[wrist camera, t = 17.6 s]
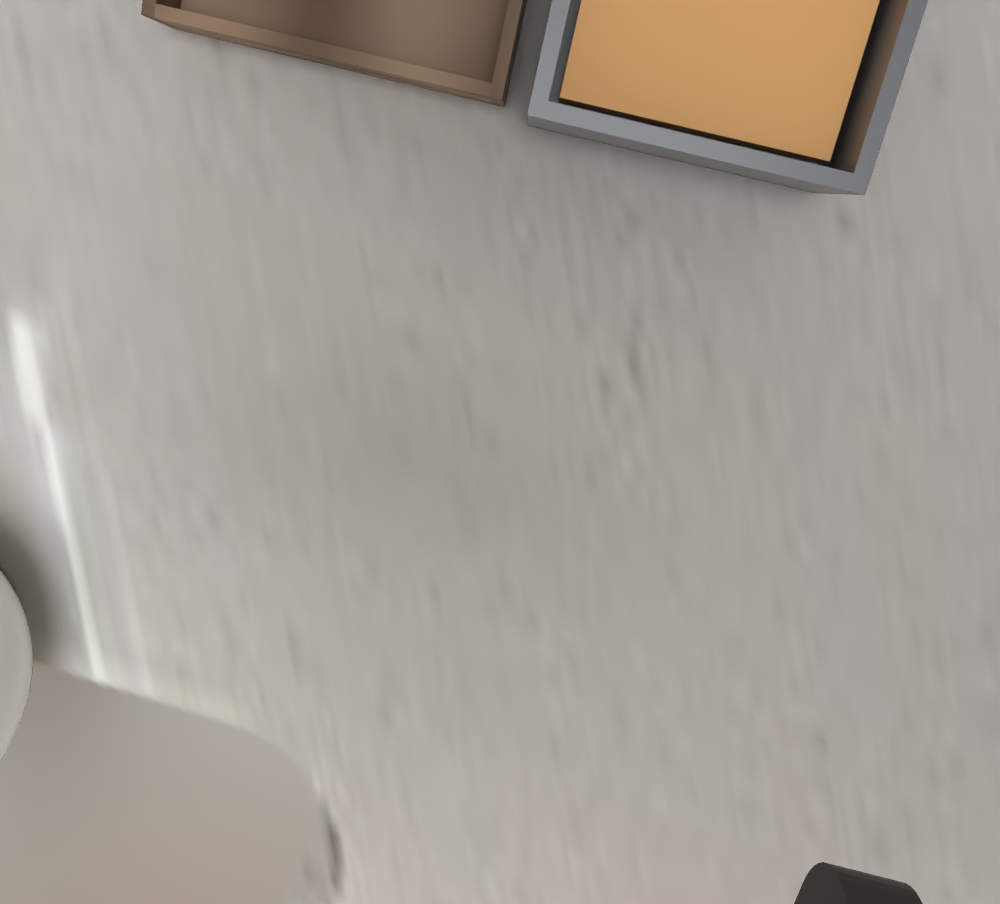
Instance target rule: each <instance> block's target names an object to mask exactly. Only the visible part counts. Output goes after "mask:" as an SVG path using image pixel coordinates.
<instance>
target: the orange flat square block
mask: <svg viewBox="0 0 1000 904" xmlns="http://www.w3.org/2000/svg"><path fill="white" fill-rule="evenodd" d="M879 1H880V0H581V3H580V8H579V12H578V16H577V21H576V25H575V30H574V34H573V38H572V43H571V47H570V52H569V56H568V60H567V65H566V69H565V74H564V78H563V82H562V87H561V91H560V96H559V100H558V102H562V103H567V104H571V105H575V106H579V107H584V108H588V109H592V110H596V111H600V112H605V113H609V114H613V115H617V116H622V117H626V118H630V119H634V120H639V121H643V122H647V123H651V124H655V125H660V126H664V127H668V128H672V129H677V130H681V131H685V132H689V133H693V134H698V135H702V136H706V137H710V138H715V139H719V140H723V141H727V142H731V143H736V144H740V145H744V146H748V147H753V148H757V149H761V150H765V151H769V152H774V153H778V154H782V155H786V156H791V157H795V158H799V159H803V160H807V161H812V162H829V161H830V160H831V156H832V153H833V150H834V147H835V144H836V140H837V137H838V134H839V131H840V127H841V124H842V121H843V118H844V114H845V111H846V108H847V105H848V102H849V98H850V95H851V92H852V89H853V85H854V82H855V79H856V76H857V72H858V69H859V66H860V63H861V60H862V56H863V53H864V50H865V47H866V43H867V40H868V37H869V34H870V30H871V27H872V24H873V21H874V18H875V14H876V11H877V8H878V5H879Z"/></svg>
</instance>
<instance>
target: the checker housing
mask: <svg viewBox="0 0 1000 904" xmlns="http://www.w3.org/2000/svg"><path fill="white" fill-rule="evenodd" d="M927 1H928V0H880V1H879V5H878V8H877V11H876V14H875V18H874V21H873V24H872V27H871V30H870V34H869V37H868V40H867V43H866V47H865V50H864V53H863V56H862V60H861V63H860V66H859V69H858V72H857V76H856V79H855V82H854V85H853V89H852V92H851V95H850V98H849V102H848V105H847V108H846V111H845V114H844V118H843V121H842V124H841V127H840V131H839V134H838V137H837V140H836V144H835V147H834V150H833V153H832V156H831V160H830V161H829V162H812V161H807V160H803V159H799V158H795V157H791V156H786V155H782V154H778V153H774V152H769V151H765V150H761V149H757V148H753V147H748V146H744V145H740V144H736V143H731V142H727V141H723V140H719V139H715V138H710V137H706V136H702V135H698V134H693V133H689V132H685V131H681V130H677V129H672V128H668V127H664V126H660V125H655V124H651V123H647V122H643V121H639V120H634V119H630V118H626V117H622V116H617V115H613V114H609V113H605V112H600V111H596V110H592V109H588V108H584V107H579V106H575V105H571V104H567V103H562V102H558V100H559V96H560V91H561V87H562V82H563V78H564V74H565V69H566V65H567V60H568V56H569V52H570V47H571V43H572V38H573V34H574V30H575V25H576V21H577V16H578V12H579V8H580V3H581V0H552V4H551V8H550V13H549V17H548V22H547V26H546V31H545V36H544V40H543V45H542V49H541V54H540V58H539V63H538V67H537V72H536V77H535V81H534V86H533V90H532V95H531V99H530V104H529V108H528V113H527V120H528V125H529V126H533V127H537V128H541V129H546V130H550V131H554V132H558V133H563V134H567V135H571V136H575V137H580V138H584V139H588V140H592V141H597V142H601V143H605V144H609V145H614V146H618V147H622V148H626V149H631V150H635V151H639V152H643V153H647V154H652V155H656V156H660V157H664V158H669V159H673V160H677V161H681V162H686V163H690V164H694V165H698V166H703V167H707V168H711V169H715V170H720V171H724V172H728V173H732V174H737V175H741V176H745V177H749V178H754V179H758V180H762V181H766V182H770V183H775V184H779V185H783V186H787V187H792V188H796V189H800V190H804V191H809V192H813V193H828V194H854V195H865V193H866V190H867V187H868V184H869V181H870V178H871V175H872V172H873V169H874V166H875V162H876V159H877V156H878V153H879V150H880V147H881V144H882V141H883V138H884V135H885V131H886V128H887V125H888V122H889V119H890V116H891V113H892V110H893V107H894V104H895V100H896V97H897V94H898V91H899V88H900V85H901V82H902V79H903V76H904V73H905V69H906V66H907V63H908V60H909V57H910V54H911V51H912V48H913V45H914V42H915V38H916V35H917V32H918V29H919V26H920V23H921V20H922V17H923V14H924V11H925V7H926V4H927Z"/></svg>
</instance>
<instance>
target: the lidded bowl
mask: <svg viewBox="0 0 1000 904" xmlns="http://www.w3.org/2000/svg"><path fill="white" fill-rule="evenodd" d="M32 670H33V657H32V643H31V636H30V631H29V627H28V622H27V618H26V615H25V613H24V610H23V608H22V605H21V603H20V600H19V598H18V597H17V595H16V593H15V591H14V590H13V588H12V586H11V584H10V583H9V581H8V580H7V578H6V576H5V575H4V574H3V572H2V571H1V570H0V760H1V759H2V757H3V755H4V753H5V752H6V750H7V748H8V746H9V744H10V742H11V741H12V739H13V737H14V735H15V732H16V730H17V728H18V726H19V724H20V722H21V719H22V716H23V713H24V710H25V707H26V704H27V701H28V696H29V691H30V686H31V679H32Z"/></svg>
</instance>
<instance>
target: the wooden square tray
mask: <svg viewBox="0 0 1000 904" xmlns="http://www.w3.org/2000/svg"><path fill="white" fill-rule="evenodd" d="M526 3H527V0H143V3H142V12H141V15H143V16H146V17H148V18H151V19H153V20H155V21H158V22H160V23H162V24H165V25H167V26H169V27H172V28H174V29H177V30H181V31H186V32H190V33H194V34H198V35H203V36H207V37H211V38H215V39H220V40H224V41H228V42H232V43H236V44H241V45H245V46H249V47H253V48H258V49H262V50H266V51H270V52H275V53H279V54H283V55H287V56H291V57H296V58H300V59H304V60H308V61H313V62H317V63H321V64H325V65H330V66H334V67H338V68H342V69H347V70H351V71H355V72H359V73H363V74H368V75H372V76H376V77H380V78H385V79H389V80H393V81H397V82H402V83H406V84H410V85H414V86H418V87H423V88H427V89H431V90H435V91H440V92H444V93H448V94H452V95H457V96H461V97H465V98H469V99H474V100H478V101H482V102H486V103H490V104H495V105H499V106H503V107H505V102H506V97H507V93H508V88H509V83H510V79H511V74H512V69H513V64H514V60H515V55H516V50H517V46H518V41H519V36H520V32H521V27H522V22H523V17H524V13H525V8H526Z"/></svg>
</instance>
